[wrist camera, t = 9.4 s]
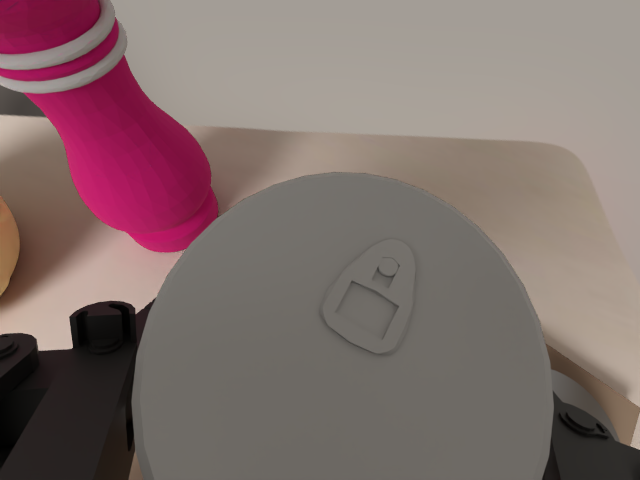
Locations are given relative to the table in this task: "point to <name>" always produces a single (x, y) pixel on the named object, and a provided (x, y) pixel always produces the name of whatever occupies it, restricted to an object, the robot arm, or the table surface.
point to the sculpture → (7, 245)
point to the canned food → (342, 345)
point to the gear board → (567, 401)
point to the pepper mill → (107, 121)
